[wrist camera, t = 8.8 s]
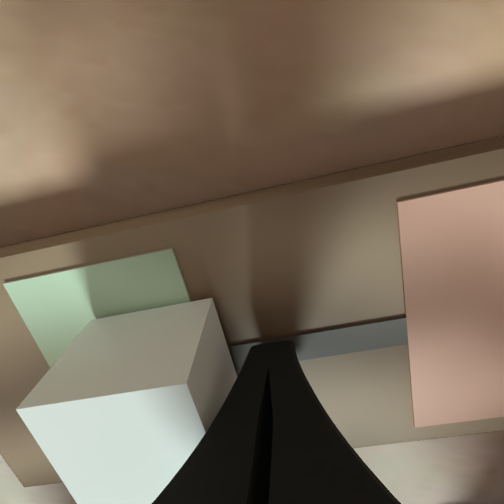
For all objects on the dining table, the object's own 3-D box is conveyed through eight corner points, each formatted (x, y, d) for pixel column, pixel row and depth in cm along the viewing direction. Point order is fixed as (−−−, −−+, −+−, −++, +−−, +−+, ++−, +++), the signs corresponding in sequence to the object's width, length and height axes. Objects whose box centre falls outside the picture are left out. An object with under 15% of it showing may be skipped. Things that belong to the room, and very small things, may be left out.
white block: (250, 418, 12) (243, 530, 9) (145, 432, 13) (102, 542, 9) (212, 297, 10) (186, 384, 7) (90, 320, 11) (15, 409, 8)
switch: (554, 387, 13) (590, 423, 12) (45, 454, 16) (22, 489, 15) (588, 116, 10) (646, 118, 8) (-79, 264, 12) (-126, 286, 11)
